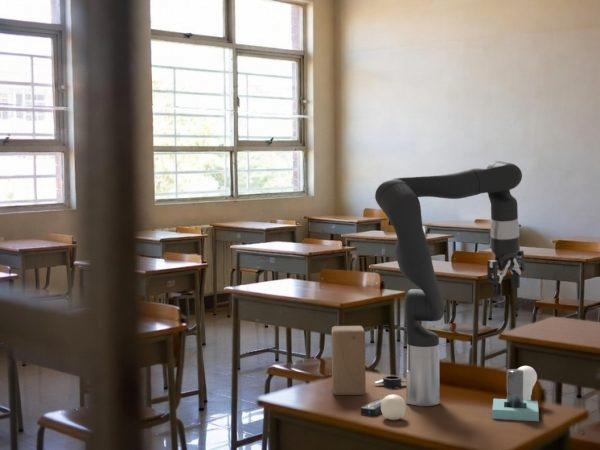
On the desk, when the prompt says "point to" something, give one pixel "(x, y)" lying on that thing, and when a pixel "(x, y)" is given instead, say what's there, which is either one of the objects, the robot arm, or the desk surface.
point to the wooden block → (348, 360)
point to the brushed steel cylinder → (514, 388)
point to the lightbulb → (528, 381)
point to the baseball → (393, 407)
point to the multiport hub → (372, 408)
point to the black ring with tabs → (390, 381)
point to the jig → (515, 411)
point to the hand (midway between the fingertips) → (506, 291)
